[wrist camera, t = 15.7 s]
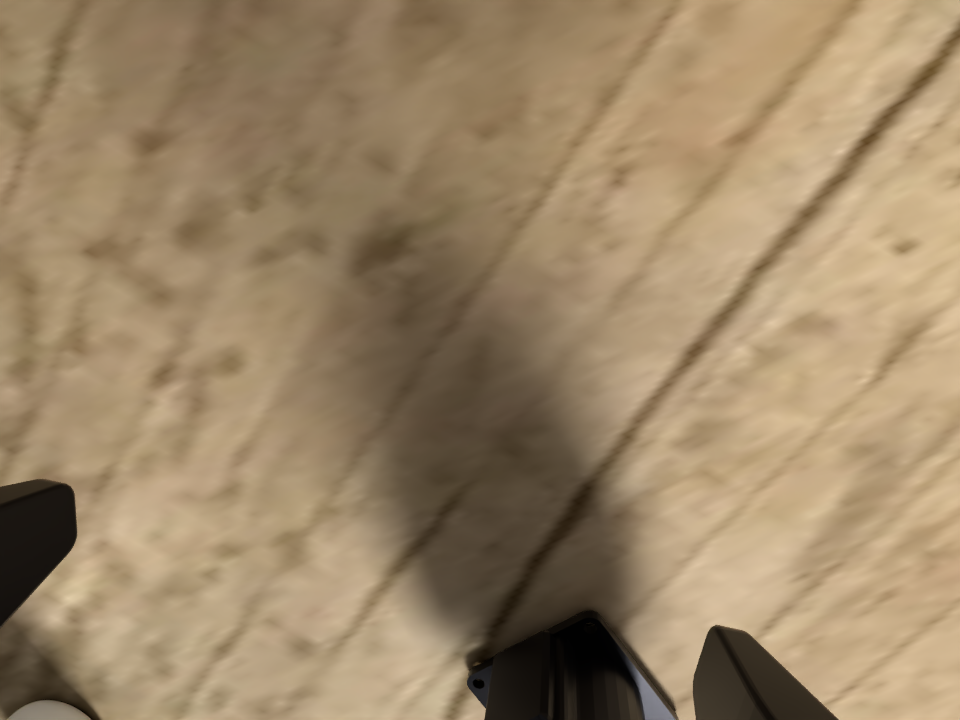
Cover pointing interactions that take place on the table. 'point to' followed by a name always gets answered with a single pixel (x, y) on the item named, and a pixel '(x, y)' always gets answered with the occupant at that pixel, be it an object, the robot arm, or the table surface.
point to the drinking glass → (48, 711)
